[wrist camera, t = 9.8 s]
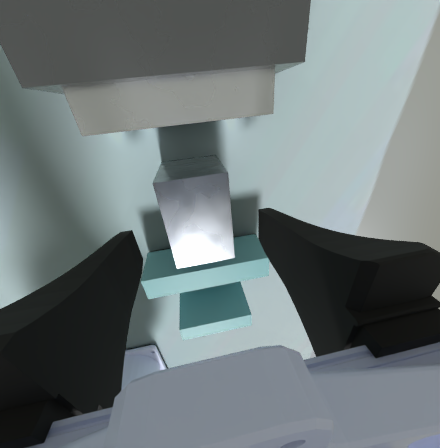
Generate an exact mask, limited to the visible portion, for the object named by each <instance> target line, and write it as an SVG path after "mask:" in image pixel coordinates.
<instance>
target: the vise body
mask: <svg viewBox="0 0 440 448" xmlns="http://www.w3.org/2000/svg"><path fill="white" fill-rule="evenodd" d="M310 2H311V0H0V44H1V46H2V48H3V50H4V52H5V54H6V56H7V58H8V60H9V62H10V64H11V66H12V68H13V70H14V72H15V74H16V76H17V78H18V80H19V82H20V84H21V86H22V88H26V89H33V90H40V91H47V92H54V93H61V94H65V96H66V99H67V101H68V103H69V106H70V108H71V111H72V113H73V115H74V118H75V120H76V123H77V125H78V127H79V130H80V132H81V135H82V136H88V135H97V134H106V133H114V132H123V131H131V130H140V129H148V128H157V127H165V126H174V125H182V124H191V123H199V122H208V121H216V120H225V119H234V118H242V117H251V116H259V115H268V114H273V108H274V81H275V74H276V73H278V72H281V71H283V70H286V69H288V68H291V67H293V66H296V65H298V64H301V63H303V62H305V54H306V43H307V33H308V23H309V12H310Z"/></svg>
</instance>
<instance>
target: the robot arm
mask: <svg viewBox="0 0 440 448" xmlns="http://www.w3.org/2000/svg"><path fill="white" fill-rule="evenodd" d="M259 241H260V243H261V246H262V248H263V250H264V252H265V254H266V255H267V257H268V259H269V260H270V262H271V264H272V265H273V267H274V268H275V270H276V272H277V273H278V275H279V276H280V278H281V280H282V281H283V283H284V285H285V287H286V288H287V291H288V293H289V295H290V297H291V299H292V301H293V303H294V305H295V307H296V310H297V312H298V314H299V316H300V319H301V321H302V323H303V326H304V328H305V330H306V333H307V335H308V337H309V340H310V342H311V345H312V347H313V350H314V352H315V354H316V357H314V358H310V359H306V360H303V358H302V356H301V354H300V353H299V352H297V351H295V350H292V349H289V348H287V347H284V346H281V345H278V346H266V347H258V348H254V349H249V350H245V351H241V352H237V353H232V354H228V355H224V356H219V357H215V358H211V359H207V360H202V361H198V362H194V363H190V364H185V365H181V366H177V367H172V368H168V369H167V368H166V366H165V364H164V362H163V360H162V358H161V356H160V353H159V351H158V349H157V347H156V346H155V345H149V346H145V347H140V348H135V349H131V350H126V342H127V335H128V328H129V322H130V317H131V312H132V308H133V305H134V301H135V297H136V293H137V290H138V286H139V282H140V278H141V274H142V265H143V258H142V255H141V252H140V250H139V247H138V245H137V242H136V239H135V237H134V234H133V232H132V230H131V231H125V232H120V233H119V234H117V235H116V236H114V237H113V238H112V239H110V240H109V241H108V242H107V243H105V244H104V245H103V246H102V247H100V248H99V249H98V250H97V251H95V252H94V253H93V254H92V255H90V256H89V257H88V258H86V259H85V260H83V261H82V262H81V263H79V264H78V265H77V266H75V267H74V268H72V269H71V270H70V271H68V272H67V273H65V274H63V275H62V276H60V277H59V278H57V279H55V280H54V281H52V282H51V283H49V284H47V285H45V286H44V287H42V288H40V289H38V290H36V291H35V292H33V293H31V294H29V295H27V296H26V297H24V298H22V299H20V300H18V301H16V302H14V303H12V304H10V305H8V306H6V307H4V308H2V309H0V448H440V310H439V309H438V308H439V307H440V302H439V301H438V300H437V299H435V298H434V297H433V296H431V295H432V294H433V292H434V291H435V289H436V288H437V286H438V285H439V283H440V252H438V251H436V250H434V249H432V248H431V247H429V246H427V245H425V244H423V243H419V242H407V241H394V240H383V239H375V238H367V237H361V236H355V235H350V234H345V233H340V232H336V231H332V230H328V229H325V228H321V227H318V226H315V225H312V224H309V223H306V222H303V221H301V220H298V219H296V218H293V217H291V216H288V215H286V214H284V213H281V212H279V211H277V210H274V209H271V208H265V209H259ZM125 350H126V351H125Z"/></svg>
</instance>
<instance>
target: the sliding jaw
mask: <svg viewBox="0 0 440 448" xmlns="http://www.w3.org/2000/svg"><path fill="white" fill-rule="evenodd" d="M233 242H234V254H235V258H232V259H227V260H221V261H216V262H210V263H205V264H200V265H194V266H189V267H184V268H178V269H177V267H176V264H175V260H174V257H173V253H172V249H167V250H161V251H155V252H150V253H148V255H147V259H146V263H145V267H144V271H143V275H142V279H141V283H142V285H143V288H144V290H145V293H146V295H147V297H148V299H153V298H158V297H163V296H168V295H173V294H178V293H180V333H181V336H182V339H183V340H187V339H192V338H196V337H201V336H205V335H210V334H214V333H219V332H224V331H228V330H233V329H237V328H242V327H246V326H251V325H252V320H251V312H250V309H249V306H248V303H247V300H246V297H245V294H244V291H243V288H242V285H241V283H240V281H244V280H249V279H255V278H260V277H265V276H269V259H268V257H267V255H266V254H265V252H264V250H263V248H262V246H261V243H260V241H259V239H258V238H257V236H256V234H252V235H247V236H241V237H235V238H233Z"/></svg>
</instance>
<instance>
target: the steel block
mask: <svg viewBox="0 0 440 448" xmlns="http://www.w3.org/2000/svg"><path fill="white" fill-rule="evenodd" d="M153 186H154V190H155V193H156V197H157V200H158V204H159V207H160V211H161V214H162V218H163V221H164V225H165V228H166V232H167V235H168V239H169V242H170V246H171V249H172V253H173V257H174V260H175V264H176V267H177V269H178V268H184V267H189V266H194V265H200V264H205V263H210V262H216V261H221V260H227V259H232V258H235V254H234V242H233V229H232V216H231V204H230V191H229V178H228V172H227V170H226V169H225V168H224V166H223V165H222V163H221V162H220V161H219V159H218V158H217V157H216V155H211V156H204V157H197V158H189V159H182V160H175V161H168V162H161V165H160V167H159V170H158V172H157V174H156V177H155V179H154V181H153Z"/></svg>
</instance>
